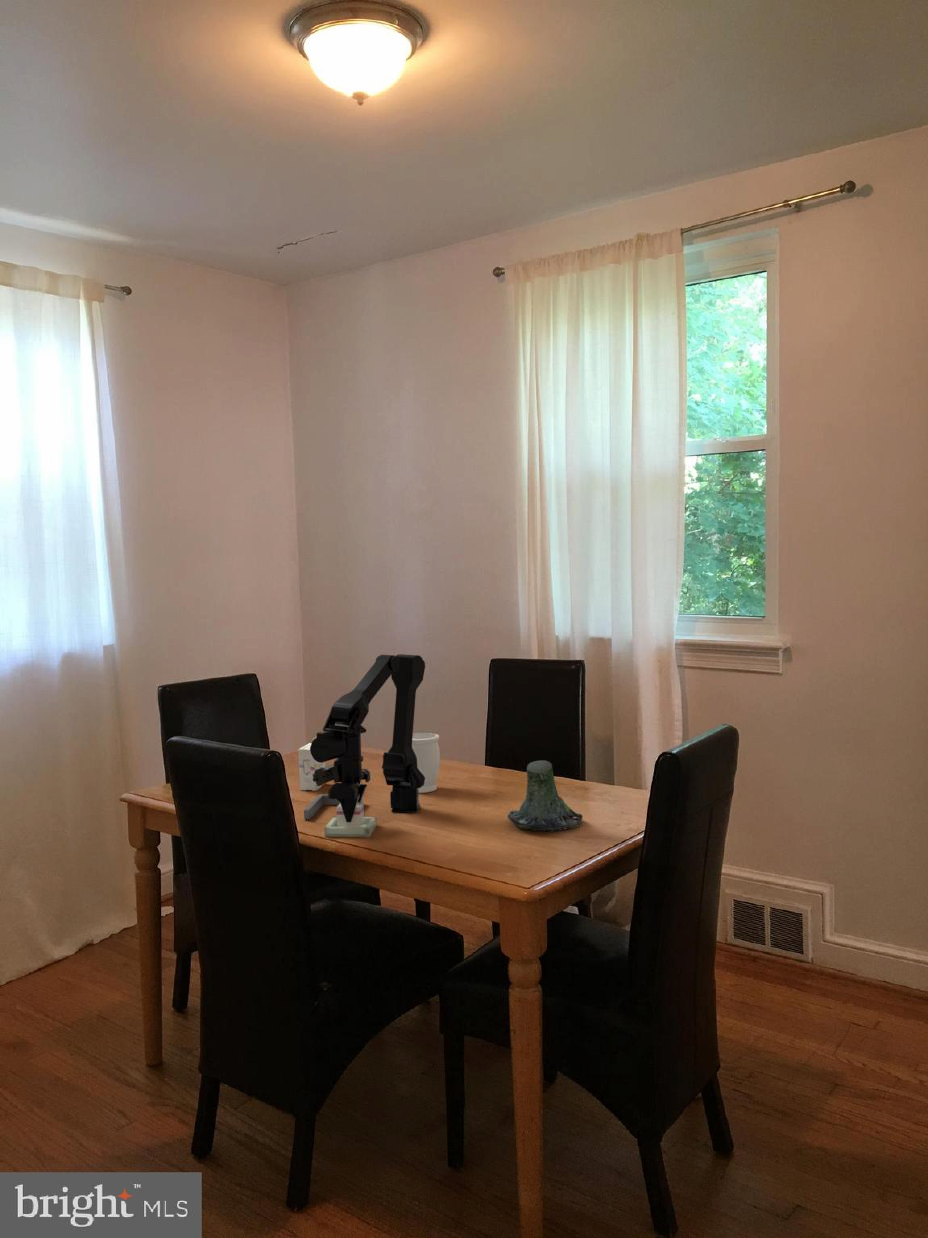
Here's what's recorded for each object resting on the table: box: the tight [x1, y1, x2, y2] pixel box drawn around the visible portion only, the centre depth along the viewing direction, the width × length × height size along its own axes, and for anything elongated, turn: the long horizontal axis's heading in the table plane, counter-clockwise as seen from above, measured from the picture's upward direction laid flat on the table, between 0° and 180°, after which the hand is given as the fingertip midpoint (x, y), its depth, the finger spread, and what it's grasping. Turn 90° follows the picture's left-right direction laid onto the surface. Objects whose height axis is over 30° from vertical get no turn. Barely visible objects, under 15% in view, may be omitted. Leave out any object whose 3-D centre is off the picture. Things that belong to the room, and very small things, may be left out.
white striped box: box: [336, 801, 365, 826], centre depth 230 cm, size 6×4×4 cm
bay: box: [303, 793, 363, 821], centre depth 247 cm, size 11×15×2 cm
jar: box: [412, 732, 441, 794], centre depth 268 cm, size 11×10×15 cm
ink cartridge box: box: [297, 736, 327, 792], centre depth 273 cm, size 9×5×15 cm, turn 168°
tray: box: [323, 816, 378, 838], centre depth 231 cm, size 10×10×2 cm
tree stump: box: [507, 760, 583, 832], centre depth 233 cm, size 18×20×18 cm
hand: (350, 819), depth 231 cm, fingers closed on white striped box, 4 cm apart
